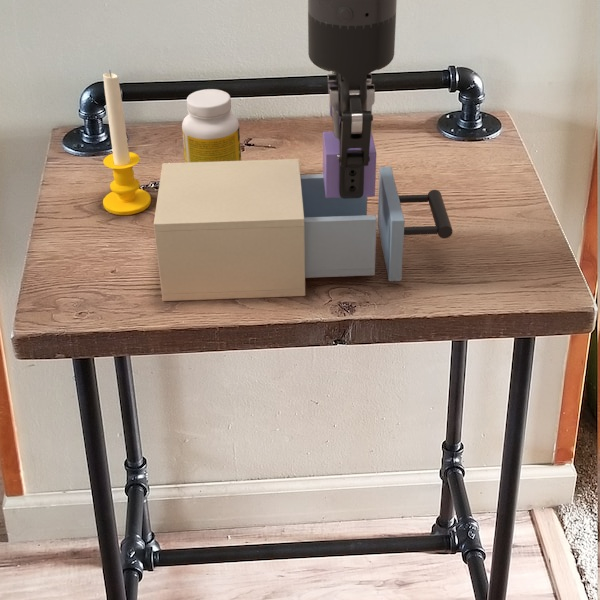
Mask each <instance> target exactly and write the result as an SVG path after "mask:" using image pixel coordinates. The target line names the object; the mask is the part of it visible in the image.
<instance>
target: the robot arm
mask: <svg viewBox="0 0 600 600" xmlns="http://www.w3.org/2000/svg"><path fill="white" fill-rule="evenodd" d="M397 3H398V0H307V39H308V41H307V42H308V44H307V45H308V46H307V48H308V51H307V53H308V58H309V60H310V61H311V63H313V65H314V66H316V67H317V68H319V69H321V70H323V71H327V72H332V73H328V74H327V77H326V78H327V83H326V84H327V92H328V95H329V96H328V99H329V103H328V105H329V115H330V117H331V118H332V132H333V134H334V136H335V137H336V138H338V147H339V154H337V160H339V193H340V197H341V198H343V199H350V198H361V197H362V196H363V190H364V166H368V162H370V156H369V149H370V136H371V134H372V135H373V121H374V114H373V105H374V104H375V100H376V99H375V97H376V96H375V93H376V92H375V90H376V89H375V84H374V83H373V84H372V82H373V81H372V80H373V79H372V78H373V77H372V73H373V72H375V71H380V70H382V69H384V68H386V67H387V66H388V65H390V64H391V63H392V61H393V60H394V58H395V47H396V24H397ZM350 148H360V150H348V149H350Z"/></svg>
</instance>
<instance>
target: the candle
mask: <svg viewBox="0 0 600 600" xmlns="http://www.w3.org/2000/svg"><path fill="white" fill-rule="evenodd" d="M102 76H103V88H104V96H105V104H106V112H107V119H108V127H109V135H110V142H111V150H112V153H111V154H108V155H106V156H105V158H104V159H103V161H102V163H103V165H104V167H106V168H109V169H112V177H113V180H112V181H111V182H110V184H109V188H110V192H109V193H107V194H106V195H105V197H104V198H103V200H102V205H103V209H104V210H105V211H106V212H108V213H110V214H113V215H116V216H131V215H135V214H138V213H142V212H144V211H145V210H147V209H148V208H149V207H150V205H151V202H152V197H151V194H150V193H149V192H148V191H146V190H144V189H142V188H140V187H141V183H140V180H139V179H137V178H135V172H134V169H133V167H135V166H136V165H138V164H139V163H140V161H141V157H140V155H138V154H137V153H136V152H132V151H130V149H129V144H128V136H127V129H126V127H127V126H126V121H125V114H124V107H123V100H122V99H123V98H122V90H121V85H120V81H119V76H118V75H117V74H116V73H112V72H111V69H109V72H106V73H103V74H102Z"/></svg>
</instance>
